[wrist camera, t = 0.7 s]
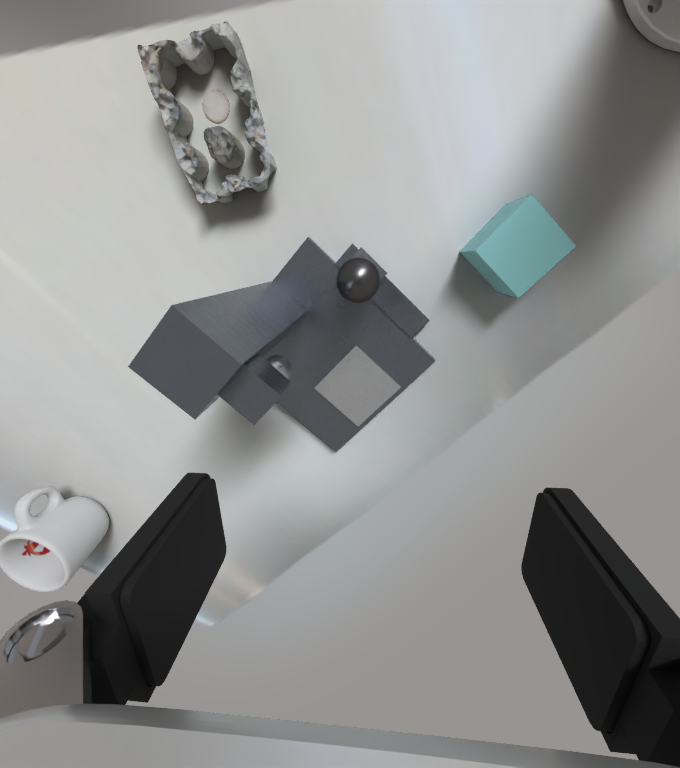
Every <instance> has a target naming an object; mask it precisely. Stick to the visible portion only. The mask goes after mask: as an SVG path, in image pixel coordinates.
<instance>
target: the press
mask: <svg viewBox="0 0 680 768" xmlns="http://www.w3.org/2000/svg"><path fill="white" fill-rule="evenodd" d="M357 251H358V249H357V248H356V247H355V246H354V245H353V244H352V245H351V246H350V247H349V248H348V250H347V251H346V252H345V253H344V254H343V255H342V256H341V258H340V259H339V260H338V261H337V262H336V263H335V262H334V261H333V260H332V259H331V258H330V257H329V256H328V255H327V254H326V253H325V252H324V251H323V250H322V249H321V248H320V247H319V246H318V245H317V244H316V243H315V242H314V241H313V240H312V239H311V238H309V237H308V238H307V239H306V240H305V242H304V243H303V244H302V245H301V247H300V248H299V249H298V250H297V252H296V253H295V254H294V255H293V256H292V258H291V259H290V260H289V261H288V263H287V264H286V265H285V266H284V268H283V269H282V270H281V271H280V273H279V274H278V275H277V276H276V278H275V279H274V280H273V281H272V282H268V283H263V284H259V285H255V286H251V287H247V288H242V289H238V290H234V291H230V292H226V293H221V294H217V295H213V296H209V297H205V298H200V299H196V300H192V301H188V302H183V303H179V304H175V305H172V306H171V307H170V308H169V310H168V311H167V313H166V314H165V315H164V317H163V318H162V320H161V321H160V323H159V324H158V325H157V327H156V328H155V330H154V331H153V332H152V334H151V335H150V337H149V338H148V340H147V341H146V342H145V344H144V345H143V347H142V348H141V349H140V351H139V352H138V354H137V355H136V356H135V358H134V359H133V361H132V362H131V364H130V365H129V366H128V367H129V368H130V369H132V370H133V371H134V372H136V373H137V374H138V375H139V376H141V377H142V378H143V379H144V380H146V381H147V382H148V383H149V384H151V385H152V386H153V387H154V388H156V389H157V390H158V391H160V392H161V393H162V394H163V395H165V396H166V397H167V398H168V399H170V400H171V401H172V402H173V403H175V404H176V405H177V406H179V407H180V408H181V409H182V410H184V411H185V412H186V413H187V414H189V415H190V416H191V417H192V418H194V419H196V418H197V417H198V416H199V415H201V414H202V413H203V412H204V411H205V410H206V409H207V408H208V407H209V406H210V405H211V404H212V403H214V402H215V401H216V400H217V399H218V398H219V397H221V398H222V399H223V400H225V401H226V402H227V403H228V404H229V405H231V406H232V407H233V408H234V409H236V410H237V411H238V412H239V413H240V414H242V415H243V416H244V417H245V418H247V419H248V420H249V421H250V422H252V423H253V424H254V425H255V424H256V423H257V422H258V420H259V419H260V418H261V417H262V416H263V415H264V414H265V413H266V412H267V411H268V410H269V409H270V408H271V407H272V406H273V404H274V403H275V402H278V403H279V404H280V405H281V406H282V407H283V408H285V409H286V410H287V411H288V412H289V413H291V414H292V415H293V416H294V417H295V418H296V419H298V420H299V421H300V422H301V423H302V424H304V425H305V426H306V427H307V428H308V429H310V430H311V431H312V432H313V433H314V434H315V435H317V436H318V437H319V438H320V439H321V440H323V441H324V442H325V443H326V444H327V445H328V446H330V447H331V448H332V449H333V450H334V451H337V450H339V449H340V448H341V447H342V446H343V445H344V444H345V443H346V442H347V441H348V440H349V439H351V438H352V437H353V436H354V435H355V434H356V433H357V432H358V431H359V430H360V429H361V428H363V427H364V426H365V425H366V424H367V423H368V422H369V421H370V420H371V419H372V418H373V417H375V416H376V415H377V414H378V413H379V412H380V411H381V410H382V409H383V408H384V407H385V406H387V405H388V404H389V403H390V402H391V401H392V400H393V399H394V398H395V397H396V396H397V395H399V394H400V393H401V392H402V391H403V390H404V389H405V388H406V387H407V386H408V385H409V384H411V383H412V382H413V381H414V380H415V379H416V378H417V377H418V376H419V375H420V374H421V373H423V372H424V371H425V370H426V369H427V368H428V367H429V366H430V365H431V364H432V363H433V362H435V359H434V358H433V357H432V356H431V355H430V354H429V353H428V352H427V351H426V350H425V349H424V348H423V347H422V346H421V345H420V344H419V343H418V342H417V341H416V340H415V339H414V338H413V336H414V335H415V334H416V333H417V332H418V331H419V330H420V329H421V328H422V327H423V326H424V325H425V324H426V323H427V322H428V321H429V319H428V318H427V317H426V316H425V315H424V314H423V313H422V312H421V311H420V310H419V309H418V308H417V307H416V306H415V305H414V304H413V303H412V302H411V301H410V300H409V299H408V298H407V297H406V296H405V295H404V294H403V293H402V292H401V291H400V290H399V289H398V288H397V287H396V286H395V285H394V284H393V283H392V282H390V281H389V280H388V279H387V278H386V277H385V276H384V277H383V278H382V279H381V280H380V284H379V288H378V290H377V292H376V294H375V295H374V296H373V297H372V298H371V299H369V300H368V301H365V302H362V303H353V302H350V301H348V300H346V299H345V298H344V297H343V296H342V295H341V294H340V292H339V290H338V288H337V283H336V278H337V274H338V271H339V269H340V267H341V266H342V265H343V264H344V263H345V262H346V261H348V260H350V259H351V258H352V257H353V256H354V255H355V254H356V253H357Z"/></svg>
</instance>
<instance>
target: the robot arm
mask: <svg viewBox="0 0 680 768" xmlns="http://www.w3.org/2000/svg"><path fill="white" fill-rule="evenodd" d="M623 2H624V5H625V8H626V11H627V14H628V15H629V17H630V19H631V20H632V22H633V23H634V25H635V27H636V28H637V29H638V30H639V31H640V32H641V33H642V34H643V35H644V36H645V37H646V38H647V39H648V40H649V41H651V42H653V43H655V44H657V45H658V46H660V47H662V48H665V49H669V50H673V51H677V52H680V0H623ZM225 555H226V542H225V536H224V530H223V525H222V519H221V513H220V507H219V501H218V495H217V489H216V483H215V480H214V479H210V476H209V475H208V474H206V473H187V474H186V475H185V476H184V477H183V478H182V480H181V481H180V482H179V483H178V484H177V485H176V487H175V488H174V489H173V490H172V491H171V492H170V494H169V495H168V496H167V497H166V498H165V499H164V501H163V502H162V503H161V504H160V505H159V507H158V508H157V509H156V510H155V511H154V512H153V514H152V515H151V516H150V517H149V518H148V519H147V521H146V522H145V523H144V524H143V525H142V526H141V528H140V529H139V530H138V531H137V532H136V533H135V535H134V536H133V537H132V538H131V539H130V541H129V542H128V543H127V544H126V545H125V546H124V548H123V549H122V550H121V551H120V552H119V553H118V555H117V556H116V557H115V558H114V559H113V560H112V562H111V563H110V564H109V565H108V566H107V567H106V569H105V570H104V571H103V572H102V573H101V574H100V576H99V577H98V578H97V579H96V580H95V582H94V583H93V584H92V585H91V586H90V587H89V589H88V590H87V591H86V592H85V594H84V596H83V597H82V598H81V599H80V600H79V602H78V603H76V602H73V601H67V600H66V601H59V602H54V603H51V604H48V605H45V606H43V607H41V608H39V609H37V610H35V611H33V612H31V613H29V614H28V615H27V616H25V617H24V618H23V619H21V620H20V621H18V622H17V623H16V624H15V625H14V626H13V627H12V628H11V629H10V630H9V631H7V633H5V635H4V636H3V638H2V639H1V640H0V768H680V618H679V617H678V616H677V615H676V614H675V612H674V611H673V610H672V609H671V608H670V607H669V605H668V604H667V603H666V602H665V601H664V599H663V598H662V597H661V596H660V595H659V593H657V591H656V590H655V589H654V587H653V586H652V585H651V584H650V583H649V582H648V580H647V579H646V578H645V577H644V576H643V574H642V573H641V572H640V571H639V570H638V568H637V567H636V566H635V565H634V564H633V562H632V561H631V560H630V559H629V558H628V556H627V555H626V554H625V553H624V552H623V551H622V549H621V548H620V547H619V546H618V545H617V543H616V542H615V541H614V540H613V539H612V537H611V536H610V535H609V534H608V533H607V532H606V530H605V529H604V528H603V527H602V526H601V524H600V523H599V522H598V521H597V520H596V518H595V517H594V516H593V515H592V514H591V513H590V511H589V510H588V509H587V508H586V506H585V505H584V504H583V503H582V502H581V500H580V499H579V498H578V497H577V496H576V495H575V493H574V492H573V491H572V490H571V489H567V488H546V489H544V491H543V493H539V494H538V495H537V497H536V502H535V506H534V511H533V516H532V520H531V525H530V529H529V534H528V538H527V543H526V547H525V552H524V557H523V561H522V575H523V579H524V581H525V583H526V585H527V587H528V590H529V592H530V594H531V596H532V598H533V600H534V603H535V605H536V607H537V609H538V611H539V614H540V616H541V618H542V620H543V622H544V624H545V626H546V629H547V631H548V633H549V635H550V637H551V640H552V642H553V644H554V646H555V648H556V650H557V653H558V655H559V657H560V659H561V661H562V664H563V666H564V668H565V670H566V672H567V674H568V677H569V679H570V681H571V683H572V685H573V687H574V690H575V692H576V694H577V696H578V698H579V700H580V702H581V705H582V707H583V709H584V711H585V713H586V716H587V718H588V720H589V722H590V723H591V725H592V726H593V728H594V729H596V730H597V731H601V733H602V735H603V737H604V739H605V741H606V743H607V745H608V748H609V750H610V751H611V752H619V753H629V754H636V755H637V757H638V759H639V760H632V759H624V758H617V757H609V756H602V755H594V754H586V753H579V752H572V751H564V750H555V749H546V748H537V747H529V746H520V745H511V744H501V743H493V742H485V741H476V740H467V739H458V738H449V737H440V736H431V735H421V734H413V733H403V732H394V731H385V730H375V729H366V728H357V727H347V726H338V725H328V724H318V723H309V722H300V721H290V720H280V719H270V718H261V717H250V716H240V715H230V714H220V713H211V712H199V711H191V710H181V709H168V708H155V707H142V706H129V705H125V704H126V702H127V701H128V700H130V701H138V702H148V701H149V699H150V697H151V695H152V693H153V691H154V689H155V687H156V686H160V685H162V683H163V682H164V681H165V679H166V677H167V675H168V673H169V671H170V669H171V667H172V665H173V663H174V661H175V659H176V657H177V655H178V653H179V651H180V649H181V647H182V645H183V643H184V641H185V638H186V636H187V634H188V632H189V630H190V628H191V626H192V624H193V622H194V620H195V618H196V616H197V614H198V612H199V610H200V608H201V606H202V604H203V602H204V600H205V598H206V596H207V594H208V592H209V590H210V587H211V585H212V583H213V581H214V579H215V577H216V575H217V573H218V571H219V569H220V567H221V565H222V563H223V561H224V558H225Z"/></svg>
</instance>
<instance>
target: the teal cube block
mask: <svg viewBox="0 0 680 768" xmlns="http://www.w3.org/2000/svg"><path fill="white" fill-rule="evenodd" d="M575 247H576V245H575V244H574V243H573V242H572V241H571V239H570V238H569V237H568V236H567V235H566V234H565V232H564V231H563V230H562V229H561V228H560V226H559V225H558V224H557V223H556V222H555V221H554V219H553V218H552V217H551V216H550V215H549V214H548V212H547V211H546V210H545V209H544V208H543V206H542V205H541V204H540V203H539V202H538V201H537V199H536V198H535V197H534V196H533V195H532V194H531V195H529V196H526V197H524V198H521V199H518V200H516V201H513V202H511V203H508V204H506V205H505V206H504V207H503V208H502V209H501V210H500V211H499V212H498V213H497V214H496V215H495V216H494V217H493V218H492V219H491V220H490V221H489V222H488V223H487V224H486V225H485V226H484V227H483V228H482V229H481V230H480V231H479V232H478V233H477V234H476V235H475V237H474V238H473V239H472V240H471V241H470V242H469V243H468V244H467V245H466V246H465V247H464V248H463V249H462V250H461V251H460V253H461V254H462V255H463V256H464V257H465V259H466V260H467V261H468V262H469V263H470V264H471V265H472V266H473V267H474V268H475V269H476V270H477V271H478V272H479V274H480V275H481V276H482V277H483V278H484V279H485V280H486V281H487V282H488V283H489V284H490V285H491V286H492V287H493V289H494V290H495V291H496V292H498V293H502V294H506V295H509V296H513V297H517V298H519V297H520V296H522V295H523V294H524V293H525V292H526V291H527V290H528V289H529V288H530V287H531V286H533V285H534V284H535V283H536V282H537V281H538V280H539V279H540V278H541V277H543V276H544V275H545V274H546V273H547V272H548V271H549V270H550V269H551V268H553V267H554V266H555V265H556V264H557V263H558V262H559V261H560V260H561V259H563V258H564V257H565V256H566V255H567V254H568V253H569V252H570V251H571V250H573V249H574V248H575Z"/></svg>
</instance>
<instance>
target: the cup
mask: <svg viewBox="0 0 680 768" xmlns="http://www.w3.org/2000/svg"><path fill="white" fill-rule="evenodd" d="M44 494H45V495H47V496H48V499H49V501H48V505H47V506H46V508H45V509H44V510H43V511H42V512H41V513H39V514H38V515H36V516H32V515H31V514H30V506H31V504H32V502H33V501H34V500H35V499H36V498H38V497H39V496H41V495H44ZM14 517H15V521H16V523H17V527H18V528H17V530H16V531H14V532H12V533H11V534H9V535H8V536H6V537H5V538H4V539H3V540H2V541H1V542H0V566H1V568H2V569H3V571H4V572H5V573H6V574H7V575H8V576H9V577H10V578H11V579H13V580H14V581H15V582H17V583H18V584H20V585H22V586H24V587H26V588H28V589H32V590H35V591H40V592H51V591H56V590H58V589H61V588H62V587H64V586H65V585H66V584H67V583H68V582H69V581H70V579H71V578H72V576H73V575H74V574H75V573H76V572H77V570H78V569H79V568H80V567H81V565H82V564H83V563H84V561H85V560H86V559H87V558H88V556H89V555H90V554H91V553H92V551H93V550H94V549H95V547H96V546H97V545H98V544H99V542H100V541H101V540H102V538H103V537H104V536H105V534H106V532H107V530H108V527H109V517H108V514H107V513H106V511H105V509H104V508H103V507H102V506H101V505H100V504H99V503H97V502H96V501H94V500H92V499H90V498H87V497H79V496H77V497H71V498H67V499H65V500H64V498H63V497H62V495H61V493H60V492H59V491H58V490H57V489H56V488H54V487H41V488H37V489H35V490H33V491H31V492H29V493H27V494H26V495H25V496H23V497H22V498H21V499H20V500H19V501H18V503H17V504H16V506H15V509H14Z"/></svg>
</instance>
